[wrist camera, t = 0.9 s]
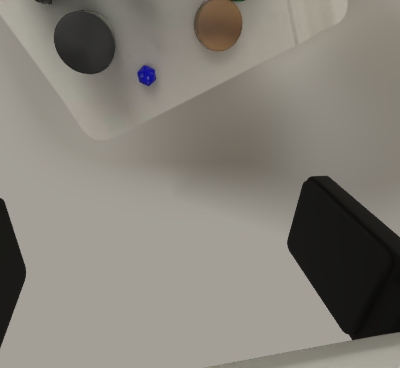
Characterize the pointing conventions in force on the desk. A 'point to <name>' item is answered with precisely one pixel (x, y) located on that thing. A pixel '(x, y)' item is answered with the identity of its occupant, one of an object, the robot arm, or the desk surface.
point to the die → (146, 75)
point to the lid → (84, 42)
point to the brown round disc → (218, 24)
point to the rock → (44, 1)
